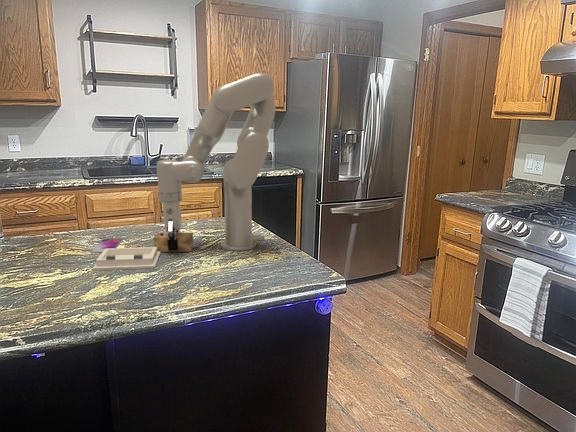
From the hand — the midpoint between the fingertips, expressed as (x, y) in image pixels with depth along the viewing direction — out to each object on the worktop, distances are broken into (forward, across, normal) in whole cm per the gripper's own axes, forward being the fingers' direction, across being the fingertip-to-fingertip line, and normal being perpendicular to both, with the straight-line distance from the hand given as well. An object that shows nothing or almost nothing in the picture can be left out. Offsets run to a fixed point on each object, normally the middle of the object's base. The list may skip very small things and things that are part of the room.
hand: (174, 246), depth 149 cm
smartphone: (+1, +6, +24) cm, 24 cm away
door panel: (+1, 0, 0) cm, 1 cm away
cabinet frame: (+1, -11, +13) cm, 17 cm away
